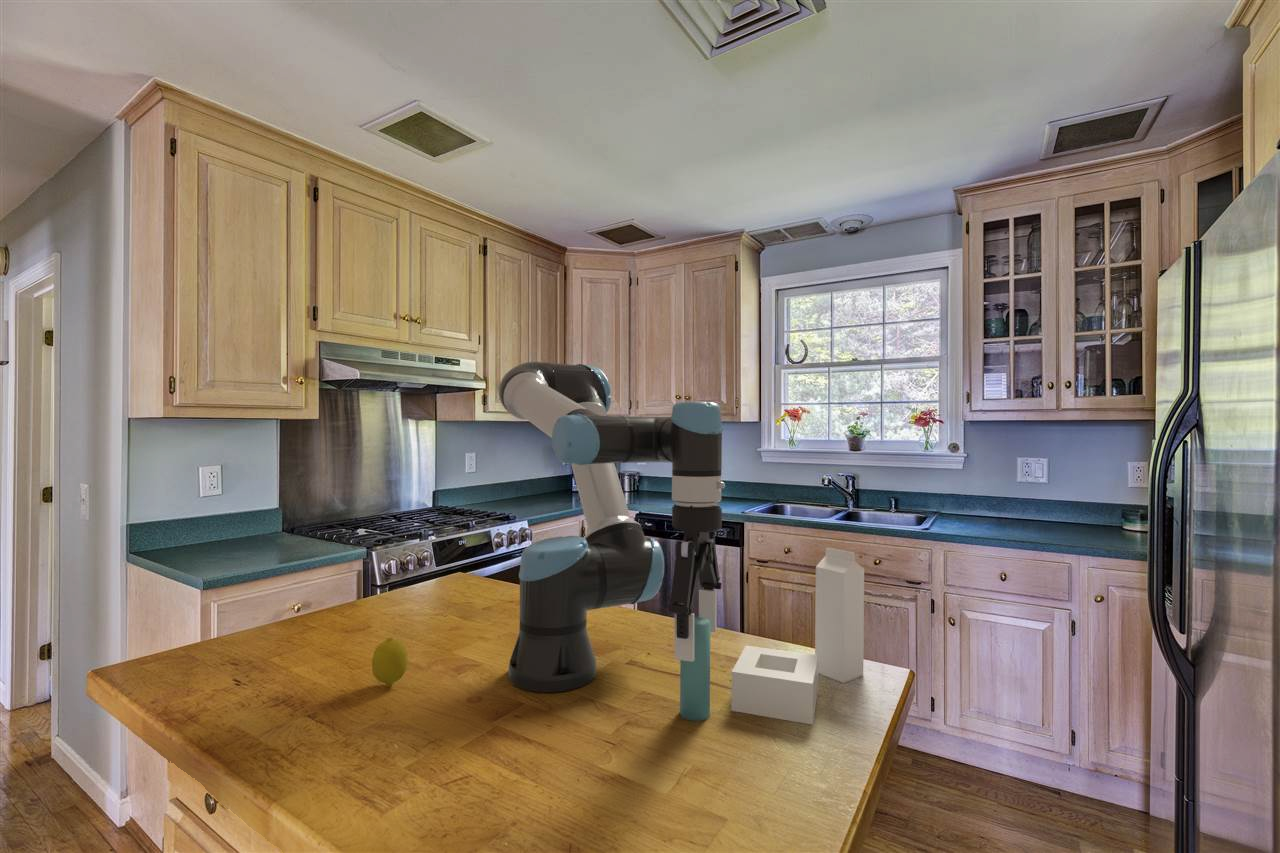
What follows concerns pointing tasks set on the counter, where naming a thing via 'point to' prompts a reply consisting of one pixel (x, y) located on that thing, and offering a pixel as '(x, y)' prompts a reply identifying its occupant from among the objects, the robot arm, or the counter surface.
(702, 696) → the peg
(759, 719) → the counter surface
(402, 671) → the lemon
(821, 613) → the milk
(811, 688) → the socket
